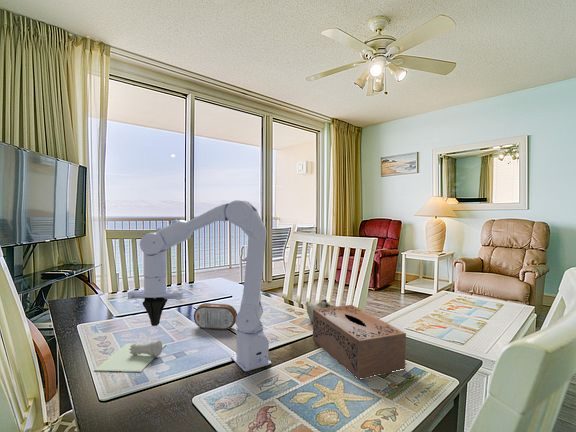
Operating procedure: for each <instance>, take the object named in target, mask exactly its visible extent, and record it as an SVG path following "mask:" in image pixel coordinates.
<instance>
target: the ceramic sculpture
mask: <svg viewBox="0 0 576 432" xmlns="http://www.w3.org/2000/svg"><path fill="white" fill-rule="evenodd" d="M305 305H306V313H307V316H308V319H309V321H310V322H311V323H313V309H321V308H329V307H337V306H336V305H335V304H334V303H332V302H328V301H327V299H322V300H320V301H319V302H318V303H313V302H309V301H306V303H305Z"/></svg>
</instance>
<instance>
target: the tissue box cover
mask: <svg viewBox="0 0 576 432" xmlns="http://www.w3.org/2000/svg"><path fill="white" fill-rule="evenodd" d="M312 340H313V341H314V343H316V344H317V345H318V346H320V348H322V349H323V350H324V351H325V352H326V353H327V352H328V353H327V354H329V355H330V356H331V357H332V359H334V358H335V359H336V360H337V361H336V362H337V363H338V364H340V363H341V364H342V365H343V366H344V367H345V368H346V369H345V368H344V367H343V366H342V365H341V364H340V365H341V366H342V367H343V368H344V369H345V370H347V369H348V370H349V371H350V372H351V373H352V374H354V375H355V376H356V377H357V378H358V379H360V378H366V377H370V376H374V375H378V374H384V373H388V374H390V373H389V372H392V371H396V370H400V369H404V368H405V369H406V352H407V351H406V348H407V346H406V345H407V342H406V341H407V333H406V332H405V331H402V330H400V329H399V328H397V327H394V326H393V325H391V324H389V323H387V322H385V321H384V320H382V319H380V318H378V317H376V316H374V315H372V314H370V313H368V312H366V311H364V310H362V309H361V308H359V307H357V306H355V305H353V304H347V305H339V306H336V307H329V308H321V309H313V322H312ZM335 359H334V360H335ZM348 370H347V371H348ZM349 371H348V372H349ZM350 372H349V373H350ZM351 373H350V374H351ZM352 374H351V375H352ZM384 375H385V374H384ZM355 376H354V377H355ZM356 377H355V378H356ZM357 378H356V379H357ZM370 378H371V377H370ZM358 379H357V380H358ZM366 379H367V378H366Z"/></svg>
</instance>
